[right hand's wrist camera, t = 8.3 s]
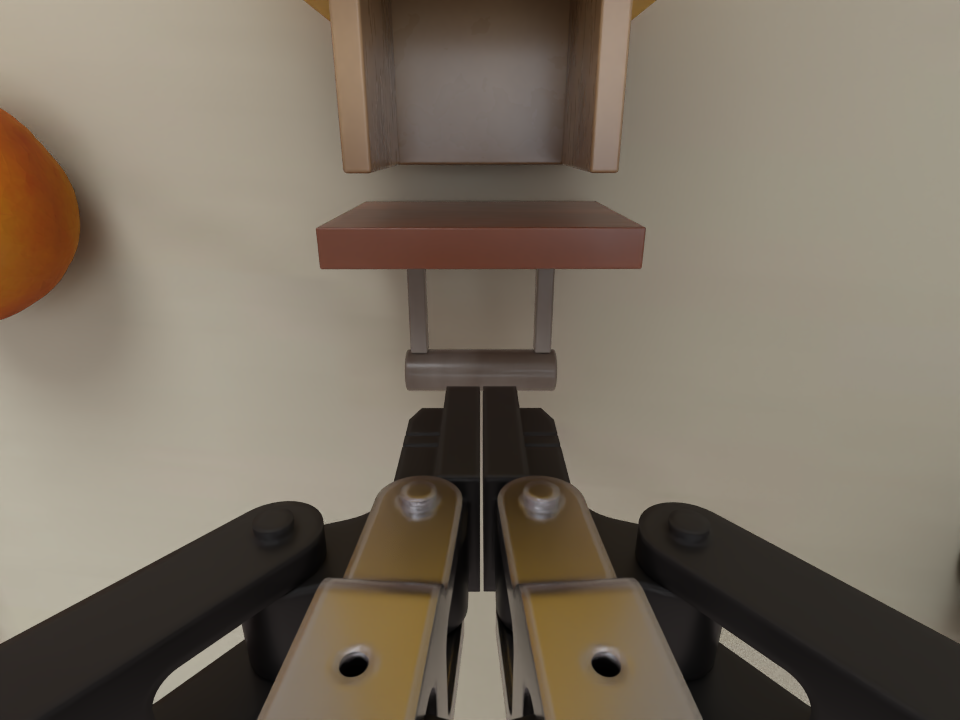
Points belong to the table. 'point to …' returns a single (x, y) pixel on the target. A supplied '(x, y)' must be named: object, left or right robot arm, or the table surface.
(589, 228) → the drawer
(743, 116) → the table surface
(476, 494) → the right robot arm
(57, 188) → the fruit
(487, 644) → the table surface
